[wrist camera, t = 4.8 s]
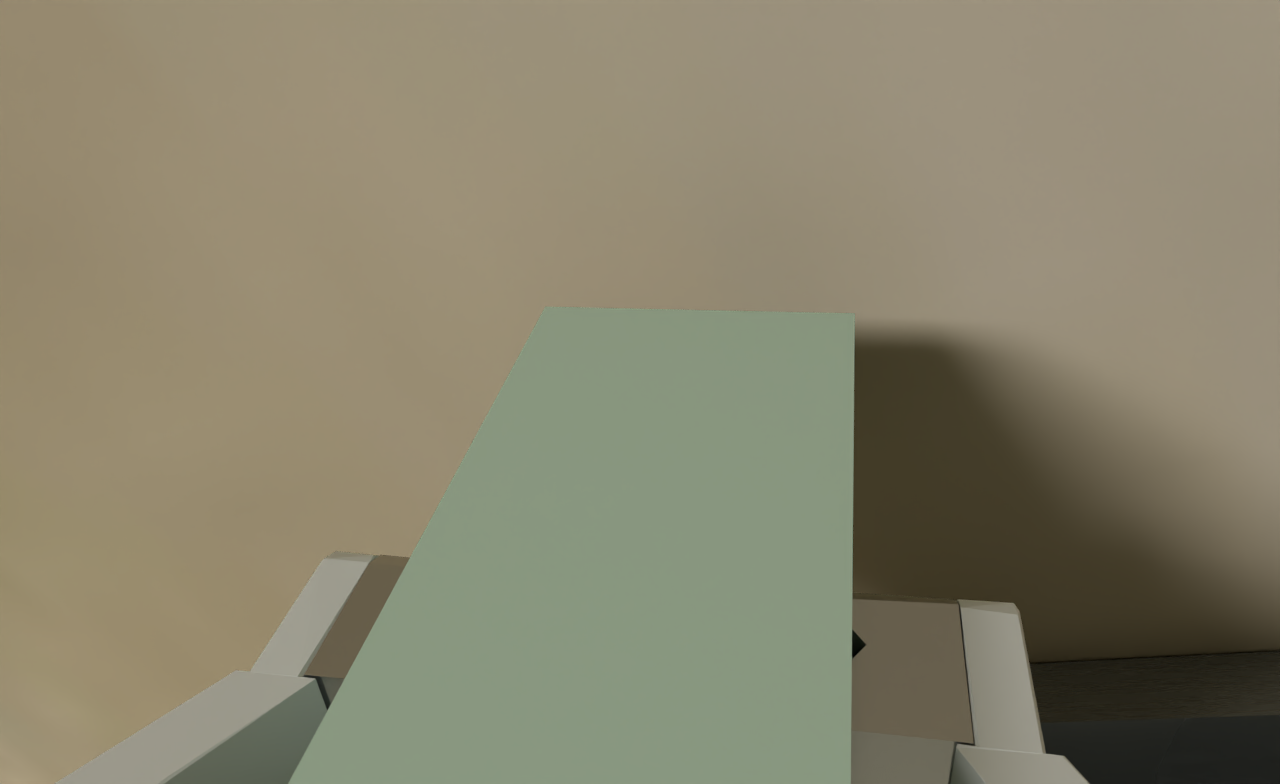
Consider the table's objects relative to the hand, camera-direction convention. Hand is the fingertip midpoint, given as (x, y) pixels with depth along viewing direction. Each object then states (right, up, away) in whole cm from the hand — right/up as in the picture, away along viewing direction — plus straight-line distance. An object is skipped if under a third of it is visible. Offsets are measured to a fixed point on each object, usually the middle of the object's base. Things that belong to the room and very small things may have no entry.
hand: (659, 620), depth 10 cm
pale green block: (+1, +2, +3) cm, 3 cm away
